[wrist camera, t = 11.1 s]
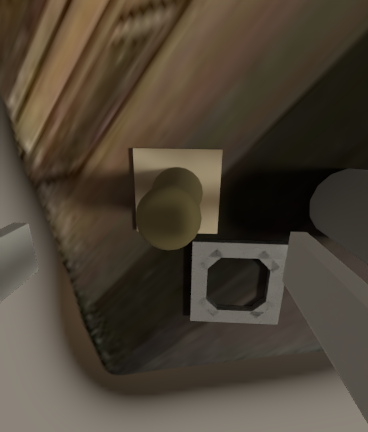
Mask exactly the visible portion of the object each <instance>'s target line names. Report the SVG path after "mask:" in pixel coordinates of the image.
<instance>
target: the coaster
mask: <svg viewBox="0 0 368 432" xmlns="http://www.w3.org/2000/svg"><path fill="white" fill-rule="evenodd" d="M133 162H134V182H135V202H136V209H137V206H138V204H139V202H140V200H141V199H142V198H143V196H144V195H145V194H146V193H147V192H148V191H149V190H151V189H152V186H153V183H154V181H155V179H156V177H157V176H158V175H159V174H160V173H161V172H163V171H164V170H166V169H168V168H173V167H181V168H186V169H188V170H190V171H191V172H193V173H194V174H195V175H196V176H197V177H198V178H199V180H200V182H201V184H202V190H203V196H202V201H201V203H200V205H199V206H200V210H201V217H202V220H201V225H200V229H199V231H198V233H206V234H217V228H218V213H219V197H220V181H221V165H222V150H216V149H157V148H133ZM137 231H138V228H137Z"/></svg>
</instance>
